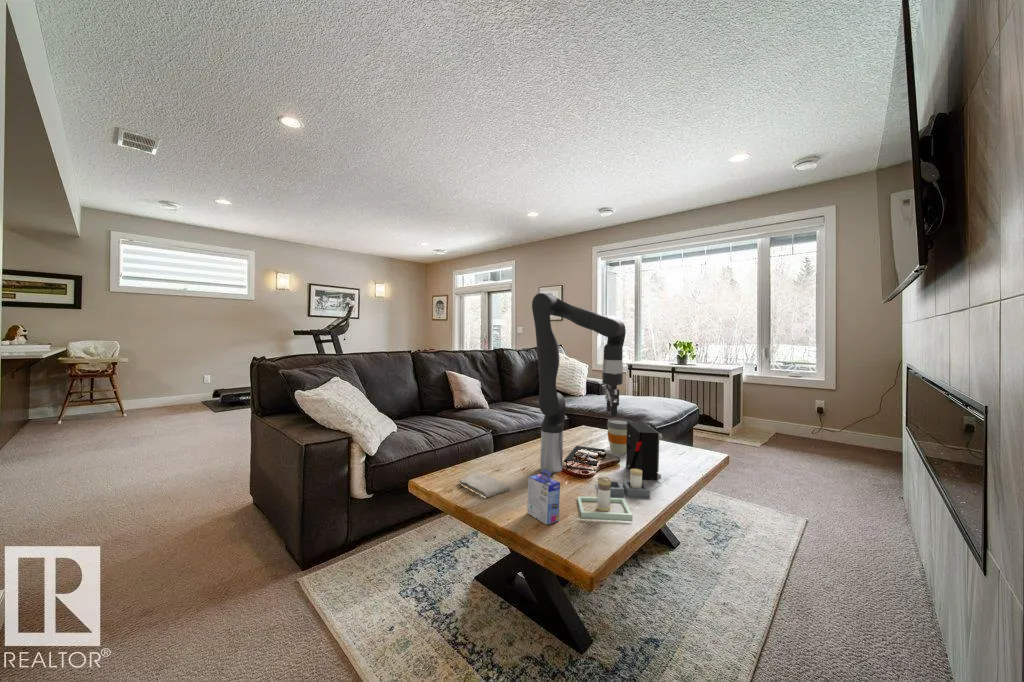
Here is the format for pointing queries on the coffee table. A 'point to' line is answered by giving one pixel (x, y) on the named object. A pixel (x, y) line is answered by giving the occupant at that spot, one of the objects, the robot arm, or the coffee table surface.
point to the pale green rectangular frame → (605, 515)
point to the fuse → (604, 493)
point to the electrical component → (643, 450)
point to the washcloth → (484, 484)
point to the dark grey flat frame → (570, 458)
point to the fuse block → (630, 487)
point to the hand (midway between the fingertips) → (611, 413)
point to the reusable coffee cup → (617, 435)
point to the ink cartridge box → (543, 498)
